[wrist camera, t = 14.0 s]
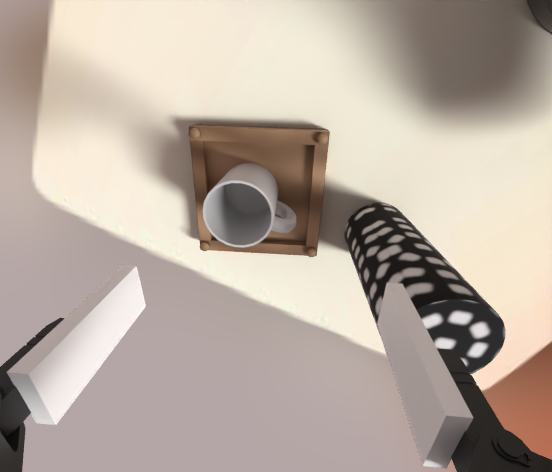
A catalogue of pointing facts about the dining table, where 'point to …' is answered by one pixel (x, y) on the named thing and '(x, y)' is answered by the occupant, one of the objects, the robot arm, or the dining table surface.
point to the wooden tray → (280, 163)
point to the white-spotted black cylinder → (422, 284)
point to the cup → (246, 207)
